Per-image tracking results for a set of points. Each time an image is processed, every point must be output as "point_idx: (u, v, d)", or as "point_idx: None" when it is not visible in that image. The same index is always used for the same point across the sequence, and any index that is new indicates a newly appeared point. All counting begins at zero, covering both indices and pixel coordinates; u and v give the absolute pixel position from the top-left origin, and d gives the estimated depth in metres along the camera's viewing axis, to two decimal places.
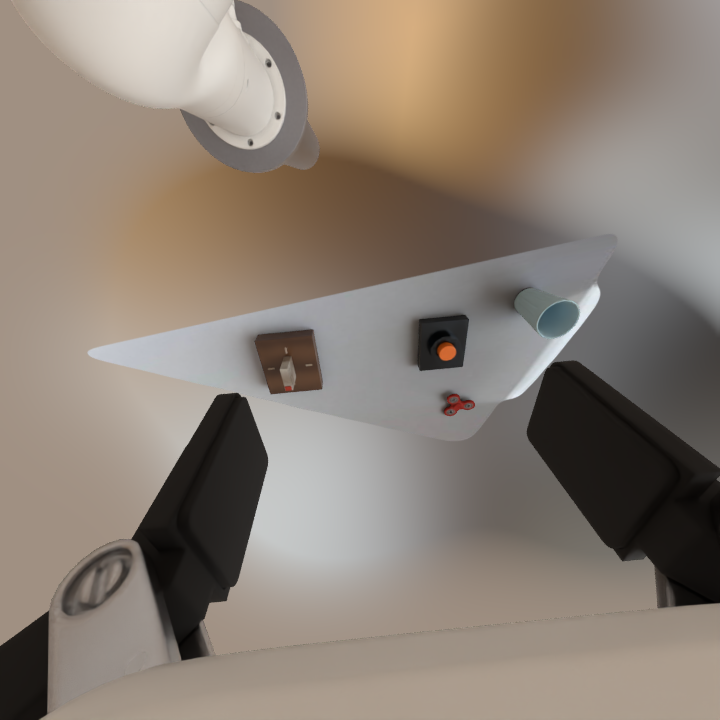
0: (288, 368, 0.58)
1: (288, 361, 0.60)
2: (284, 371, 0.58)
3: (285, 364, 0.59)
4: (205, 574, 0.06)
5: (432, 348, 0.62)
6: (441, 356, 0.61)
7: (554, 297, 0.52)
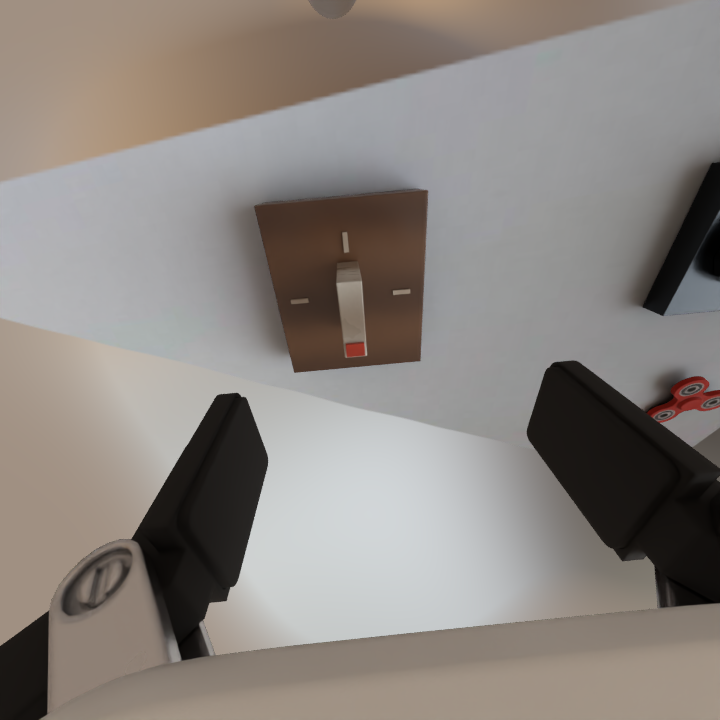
0: None
1: (356, 269, 0.20)
2: (351, 289, 0.18)
3: (350, 274, 0.19)
4: (205, 574, 0.06)
5: None
6: None
7: None
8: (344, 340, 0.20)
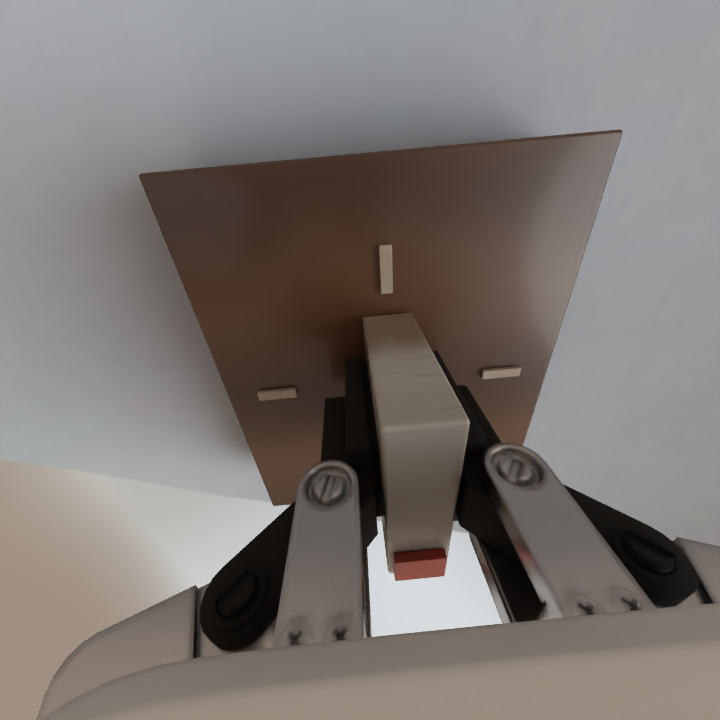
0: None
1: (420, 346, 0.07)
2: (431, 446, 0.05)
3: (412, 372, 0.06)
4: None
5: None
6: None
7: None
8: (391, 547, 0.07)
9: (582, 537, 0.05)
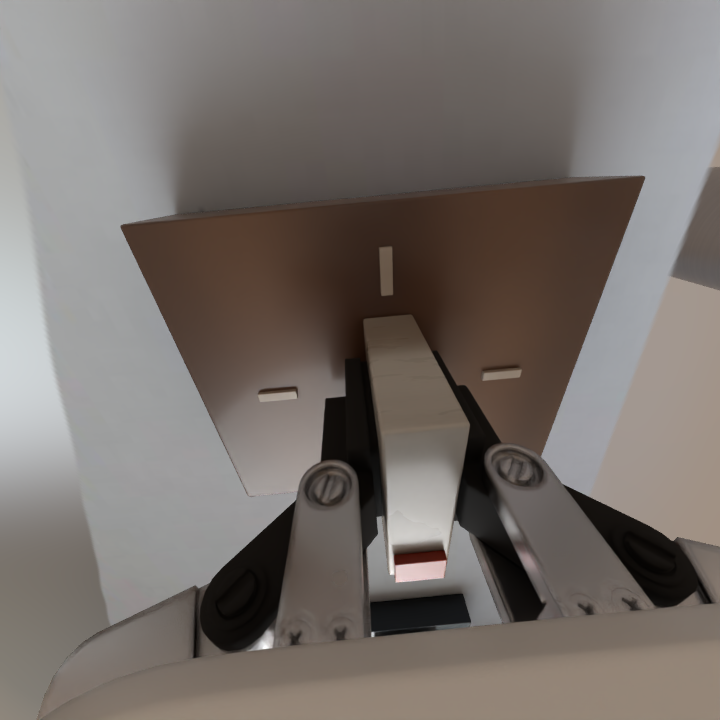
0: None
1: (421, 348, 0.07)
2: (431, 449, 0.05)
3: (413, 374, 0.06)
4: (374, 499, 0.07)
5: None
6: None
7: None
8: (391, 549, 0.07)
9: (582, 537, 0.05)
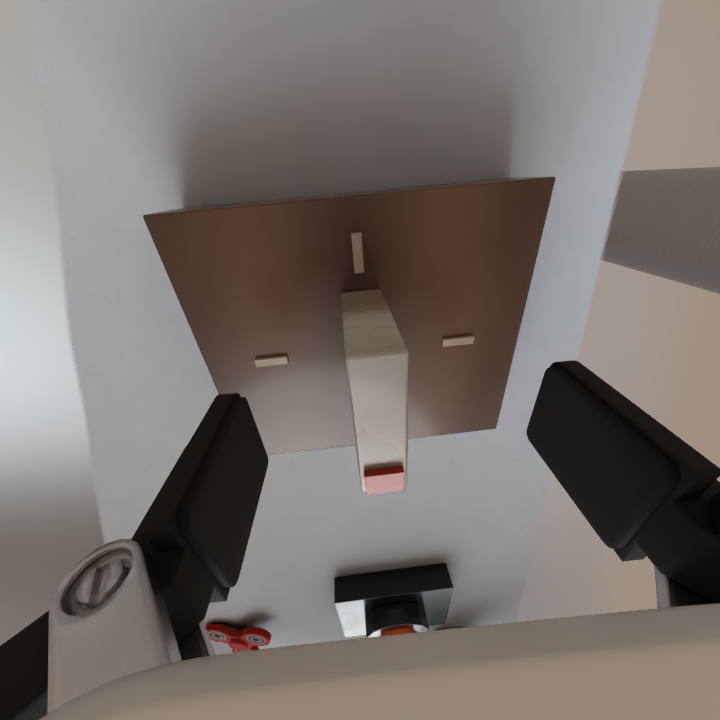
0: None
1: (383, 310, 0.09)
2: (383, 372, 0.07)
3: (373, 326, 0.08)
4: (205, 575, 0.06)
5: (405, 625, 0.28)
6: None
7: None
8: (361, 465, 0.09)
9: None
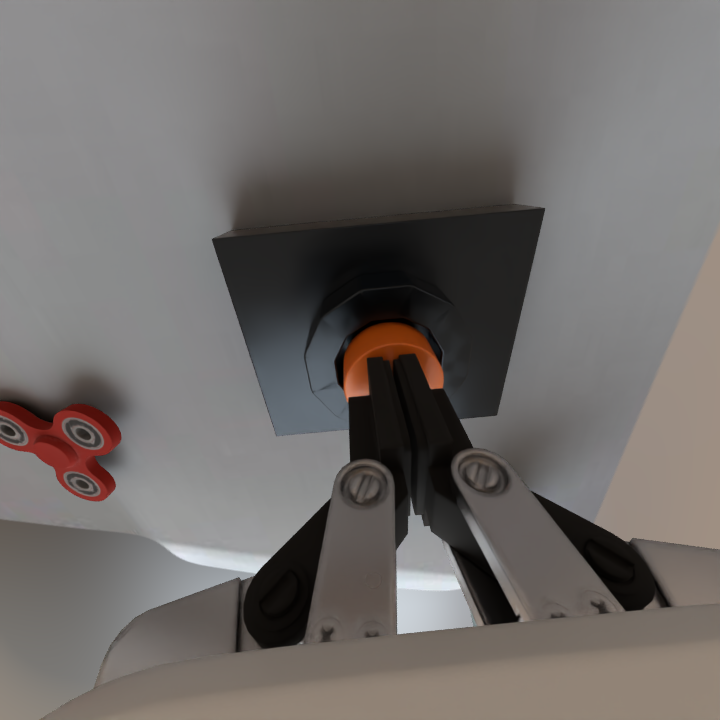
0: None
1: None
2: None
3: None
4: None
5: (409, 294, 0.10)
6: None
7: None
8: None
9: (549, 540, 0.05)
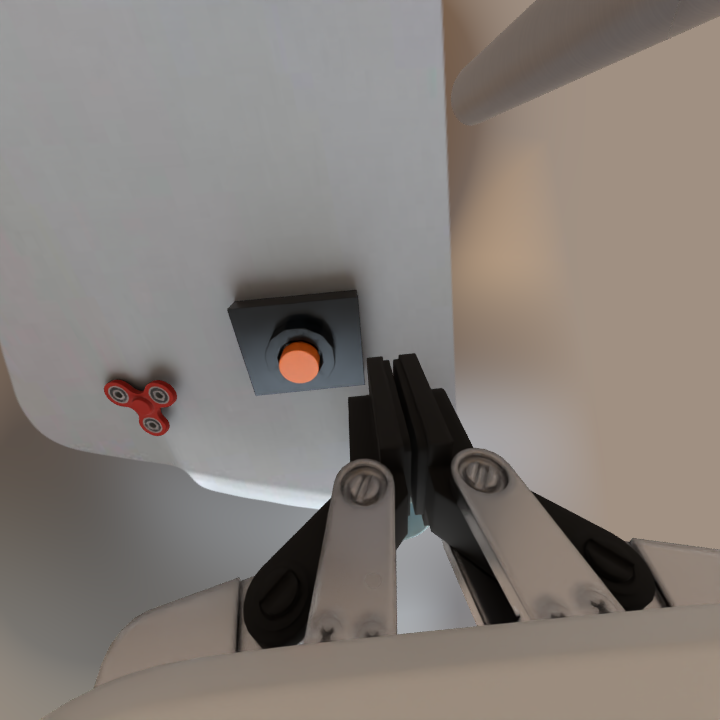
0: None
1: None
2: None
3: None
4: None
5: (303, 331, 0.26)
6: (289, 355, 0.26)
7: None
8: None
9: (549, 540, 0.05)
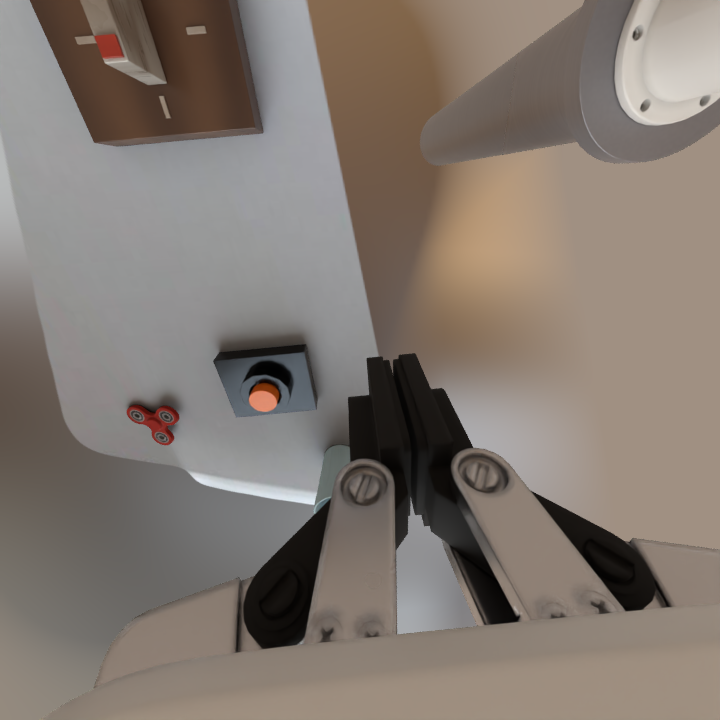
0: None
1: None
2: None
3: None
4: None
5: (265, 376, 0.37)
6: (255, 394, 0.37)
7: None
8: (93, 31, 0.18)
9: (549, 540, 0.05)
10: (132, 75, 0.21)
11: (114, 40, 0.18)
